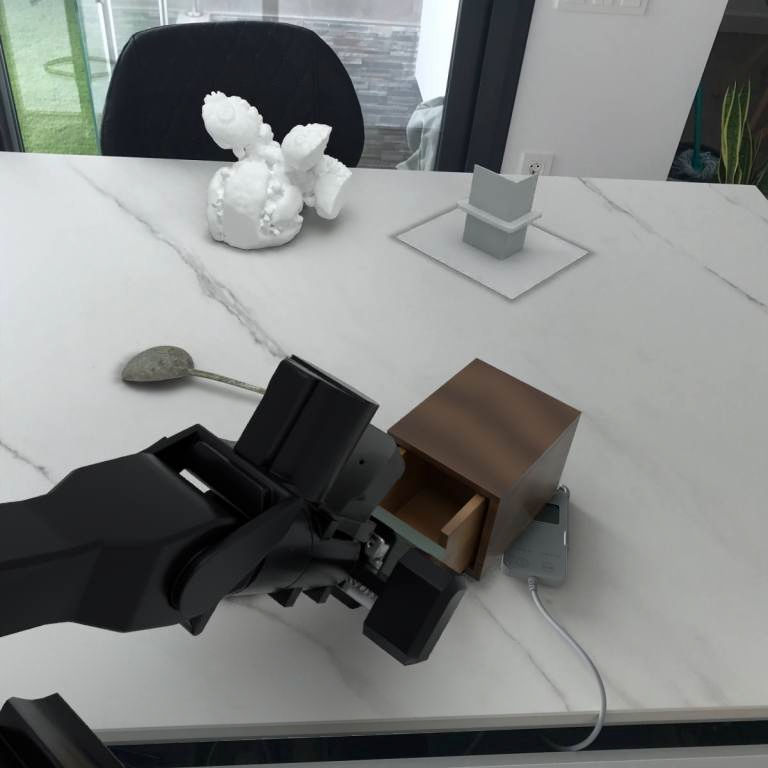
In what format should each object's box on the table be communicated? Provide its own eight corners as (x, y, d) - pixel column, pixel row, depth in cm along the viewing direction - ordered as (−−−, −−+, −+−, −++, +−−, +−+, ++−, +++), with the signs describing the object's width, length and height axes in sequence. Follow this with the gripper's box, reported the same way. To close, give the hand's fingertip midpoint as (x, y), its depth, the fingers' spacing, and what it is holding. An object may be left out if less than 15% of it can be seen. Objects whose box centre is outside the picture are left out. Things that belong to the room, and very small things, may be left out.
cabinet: (479, 582, 66) (500, 498, 59) (377, 514, 71) (387, 429, 64) (555, 493, 75) (582, 411, 68) (460, 438, 79) (476, 357, 73)
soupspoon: (146, 352, 87) (112, 388, 83) (140, 328, 85) (105, 364, 80) (327, 398, 82) (302, 440, 78) (326, 374, 80) (300, 416, 75)
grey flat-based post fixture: (476, 199, 122) (488, 127, 114) (588, 252, 112) (610, 177, 104) (395, 237, 111) (402, 160, 103) (511, 299, 100) (529, 219, 93)
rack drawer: (393, 664, 58) (403, 595, 53) (297, 590, 63) (297, 519, 57) (506, 536, 69) (525, 466, 63) (417, 480, 73) (427, 411, 68)
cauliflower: (156, 189, 97) (219, 65, 102) (201, 264, 115) (252, 156, 121) (295, 229, 93) (352, 99, 99) (318, 300, 112) (365, 187, 118)
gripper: (471, 503, 40) (536, 516, 54) (224, 350, 49) (336, 396, 63) (367, 688, 41) (459, 654, 55) (139, 505, 49) (269, 516, 63)
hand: (377, 545), depth 59 cm, fingers closed, pressing on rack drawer
